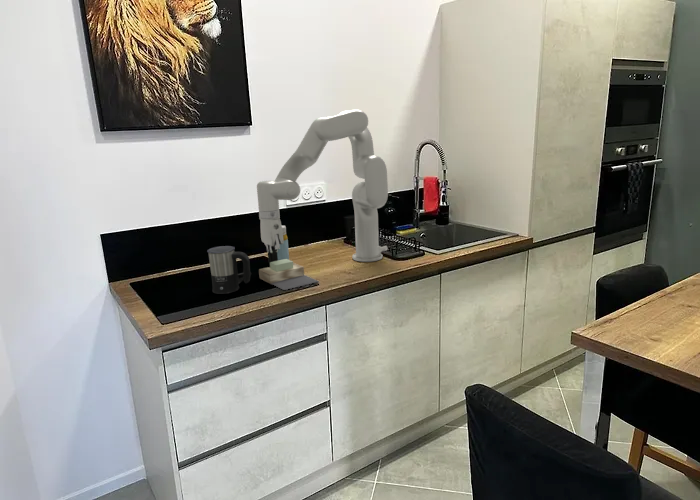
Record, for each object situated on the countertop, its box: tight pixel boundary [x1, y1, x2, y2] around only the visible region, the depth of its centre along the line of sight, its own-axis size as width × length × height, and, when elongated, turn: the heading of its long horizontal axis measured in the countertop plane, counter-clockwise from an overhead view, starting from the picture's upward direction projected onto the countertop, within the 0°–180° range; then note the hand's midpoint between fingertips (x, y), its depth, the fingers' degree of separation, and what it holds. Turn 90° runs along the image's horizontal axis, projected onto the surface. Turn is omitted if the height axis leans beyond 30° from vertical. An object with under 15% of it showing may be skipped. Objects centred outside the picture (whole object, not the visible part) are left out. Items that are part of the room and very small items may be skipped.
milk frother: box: [206, 245, 252, 295], centre depth 170 cm, size 14×16×15 cm
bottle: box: [274, 224, 290, 261], centre depth 198 cm, size 7×7×15 cm
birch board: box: [258, 262, 305, 285], centre depth 180 cm, size 14×9×4 cm, turn 126°
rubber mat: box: [270, 274, 320, 291], centre depth 172 cm, size 14×10×1 cm
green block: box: [269, 259, 294, 272], centre depth 178 cm, size 7×5×2 cm
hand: (273, 261), depth 184 cm, fingers closed
